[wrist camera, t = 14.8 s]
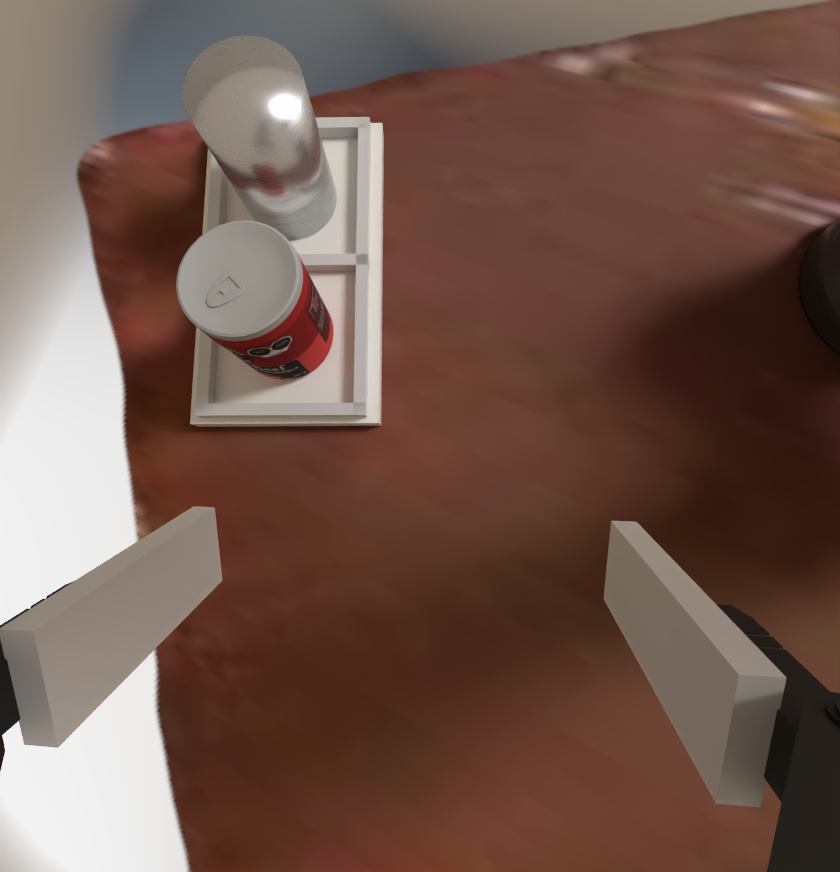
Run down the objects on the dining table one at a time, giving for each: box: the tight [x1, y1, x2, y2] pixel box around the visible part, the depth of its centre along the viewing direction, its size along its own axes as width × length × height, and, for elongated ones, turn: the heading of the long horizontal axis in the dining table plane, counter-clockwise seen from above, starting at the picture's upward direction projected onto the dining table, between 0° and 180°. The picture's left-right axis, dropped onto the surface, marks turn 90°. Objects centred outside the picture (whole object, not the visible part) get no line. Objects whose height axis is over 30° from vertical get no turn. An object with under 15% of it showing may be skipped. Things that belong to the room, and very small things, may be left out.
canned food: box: [176, 220, 334, 380], centre depth 33 cm, size 8×8×11 cm
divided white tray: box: [190, 117, 384, 427], centre depth 39 cm, size 16×28×3 cm, turn 0°
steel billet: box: [183, 36, 337, 240], centre depth 35 cm, size 8×8×11 cm
